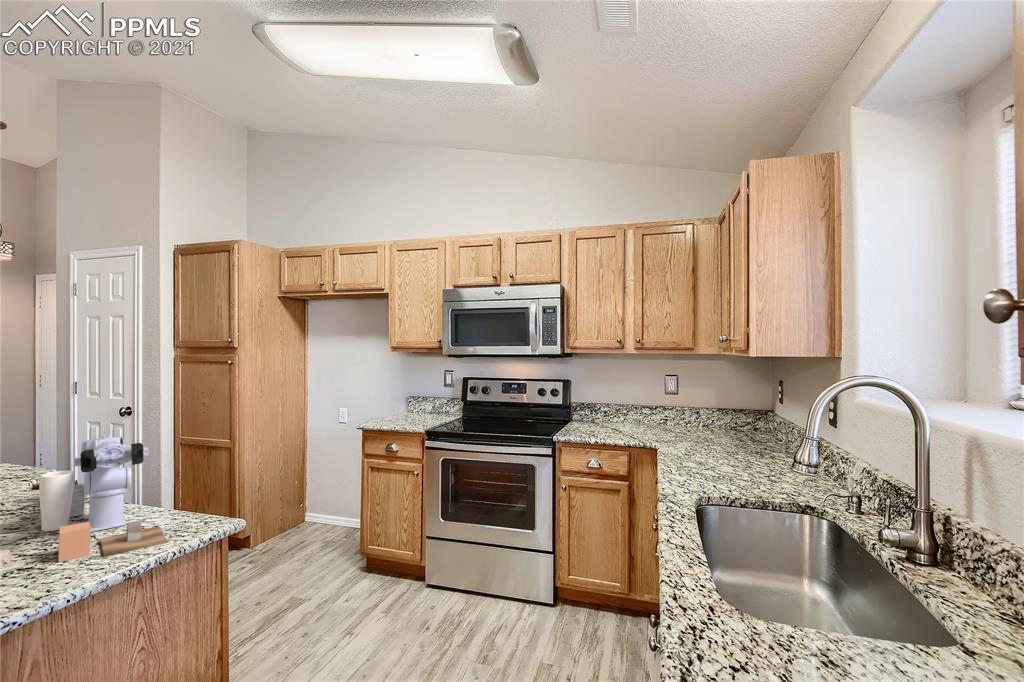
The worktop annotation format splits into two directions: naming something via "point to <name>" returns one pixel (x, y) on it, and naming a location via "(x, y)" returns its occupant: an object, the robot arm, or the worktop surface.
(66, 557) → the salmon orange block
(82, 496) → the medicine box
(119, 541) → the post board
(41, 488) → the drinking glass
